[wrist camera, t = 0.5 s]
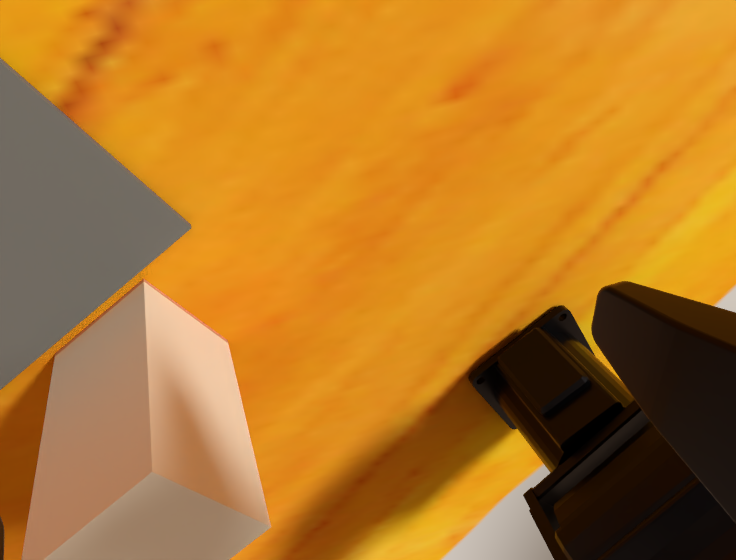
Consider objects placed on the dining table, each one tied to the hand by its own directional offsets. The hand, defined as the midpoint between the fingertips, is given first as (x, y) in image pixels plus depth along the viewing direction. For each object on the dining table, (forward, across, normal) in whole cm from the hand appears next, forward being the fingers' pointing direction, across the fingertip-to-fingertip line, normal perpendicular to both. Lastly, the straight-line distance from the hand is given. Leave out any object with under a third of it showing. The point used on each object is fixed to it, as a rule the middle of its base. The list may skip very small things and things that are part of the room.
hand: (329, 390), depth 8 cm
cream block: (+13, +5, +8) cm, 16 cm away
